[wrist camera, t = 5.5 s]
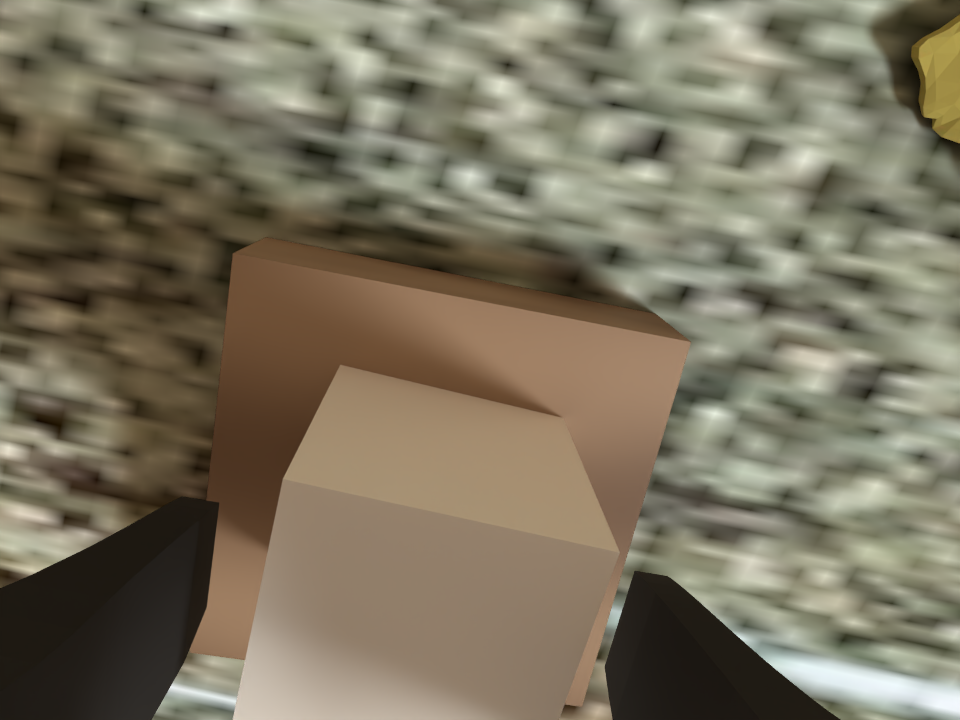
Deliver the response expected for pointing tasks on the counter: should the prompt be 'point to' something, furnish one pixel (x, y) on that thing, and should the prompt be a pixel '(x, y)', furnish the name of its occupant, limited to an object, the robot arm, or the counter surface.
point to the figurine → (940, 78)
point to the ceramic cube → (426, 562)
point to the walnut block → (425, 360)
